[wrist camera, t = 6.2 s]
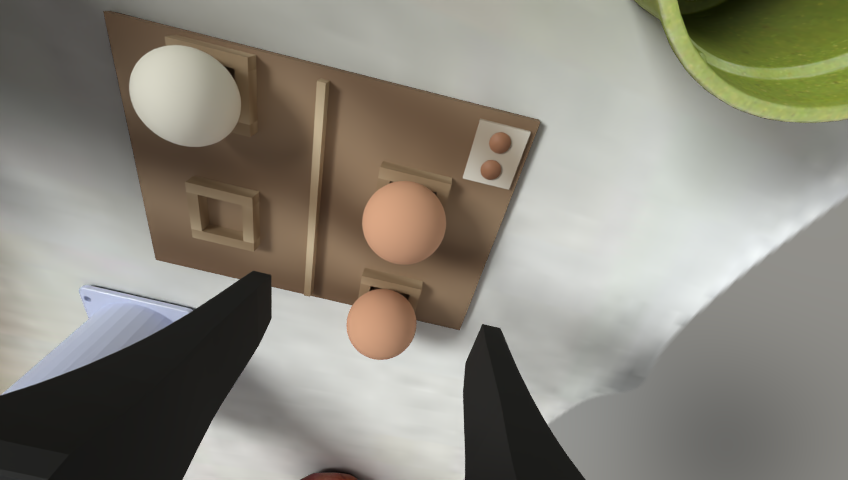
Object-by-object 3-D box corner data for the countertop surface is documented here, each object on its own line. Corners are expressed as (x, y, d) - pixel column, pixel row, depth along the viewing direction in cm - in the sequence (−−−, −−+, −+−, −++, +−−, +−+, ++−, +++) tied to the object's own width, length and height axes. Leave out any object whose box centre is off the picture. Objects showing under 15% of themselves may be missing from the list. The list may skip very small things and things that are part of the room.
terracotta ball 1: (436, 240, 22) (432, 290, 18) (366, 224, 21) (348, 271, 18) (456, 177, 19) (455, 220, 16) (377, 158, 19) (359, 198, 16)
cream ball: (258, 139, 19) (213, 171, 16) (177, 119, 19) (115, 147, 16) (256, 52, 17) (203, 68, 14) (165, 29, 17) (89, 39, 14)
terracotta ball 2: (412, 329, 25) (404, 381, 22) (352, 315, 25) (334, 365, 22) (426, 283, 23) (418, 333, 20) (360, 268, 23) (341, 315, 20)
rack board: (458, 328, 26) (458, 342, 25) (160, 259, 25) (148, 270, 24) (539, 119, 18) (543, 127, 17) (110, 10, 17) (88, 12, 16)
